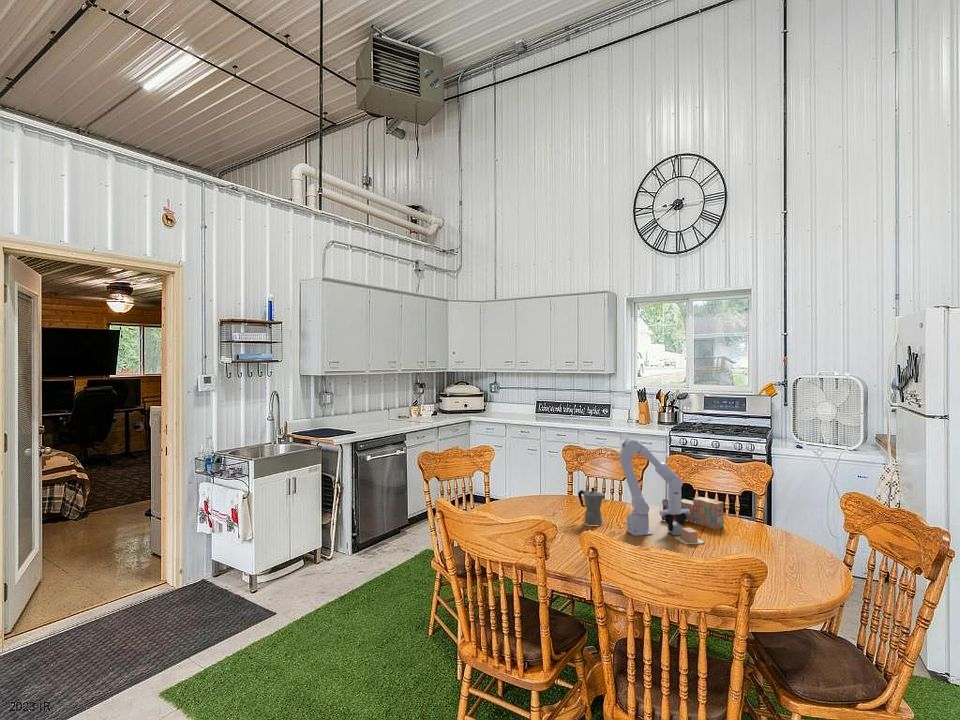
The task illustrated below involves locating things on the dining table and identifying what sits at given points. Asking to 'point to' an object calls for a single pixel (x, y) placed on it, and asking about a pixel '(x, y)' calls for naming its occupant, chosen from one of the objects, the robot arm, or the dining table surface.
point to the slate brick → (676, 529)
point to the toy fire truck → (665, 507)
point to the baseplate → (689, 542)
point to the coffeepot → (592, 506)
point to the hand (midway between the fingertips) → (675, 530)
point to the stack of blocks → (705, 511)
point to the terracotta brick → (689, 535)
